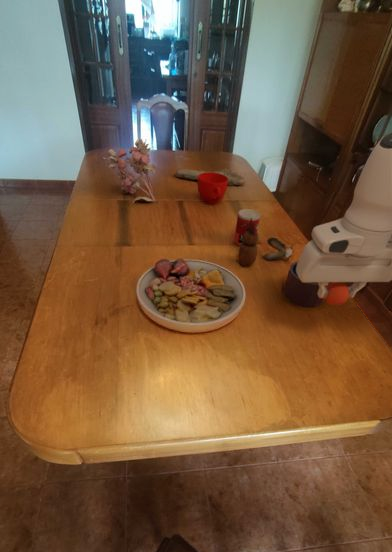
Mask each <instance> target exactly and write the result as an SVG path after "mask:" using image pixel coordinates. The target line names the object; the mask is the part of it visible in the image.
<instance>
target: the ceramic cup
mask: <svg viewBox="0 0 392 552" xmlns="http://www.w3.org/2000/svg"><path fill="white" fill-rule="evenodd" d="M213 172H214V171H207V172H206V173H201V174H199V175H198V181H197V190H198V194H199V197H200V198H201V200H202V201H203V203H204V204H206V205H211V206H213V205H214V206H215V205H218V204H219V202H220V201H221V200H222V199H223V198H224V196H225V194H226V192H227V188H228V185H227V184H228V178H227V177H226V176H225V175H223V174H219V173H213Z"/></svg>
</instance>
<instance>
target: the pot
mask: <svg viewBox="0 0 392 552" xmlns="http://www.w3.org/2000/svg"><path fill="white" fill-rule="evenodd" d="M298 261H299V260H297V261H294V262H293V263H291V264H290V266H289V269H288V272H287V274H286V278H285V282H284V285H283V289H282V294H283V296H284V297H285V299H286V300H287V301H288V302H290V303H292V304H293V305H296V306H298V307H301V308H310V309H311V308H317V307H320V306H322V305H323V304H324V303H325V301H326V300H325V298H319V296H318V290H319V288H320V287H319V284H318V282H302V281H301V280H300V278H299V277H298V275H297V273H296V267H297V263H298ZM330 283H333V282H329V283H328V285H329V284H330ZM328 285H327V286H328ZM327 286H325V287H327Z"/></svg>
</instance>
